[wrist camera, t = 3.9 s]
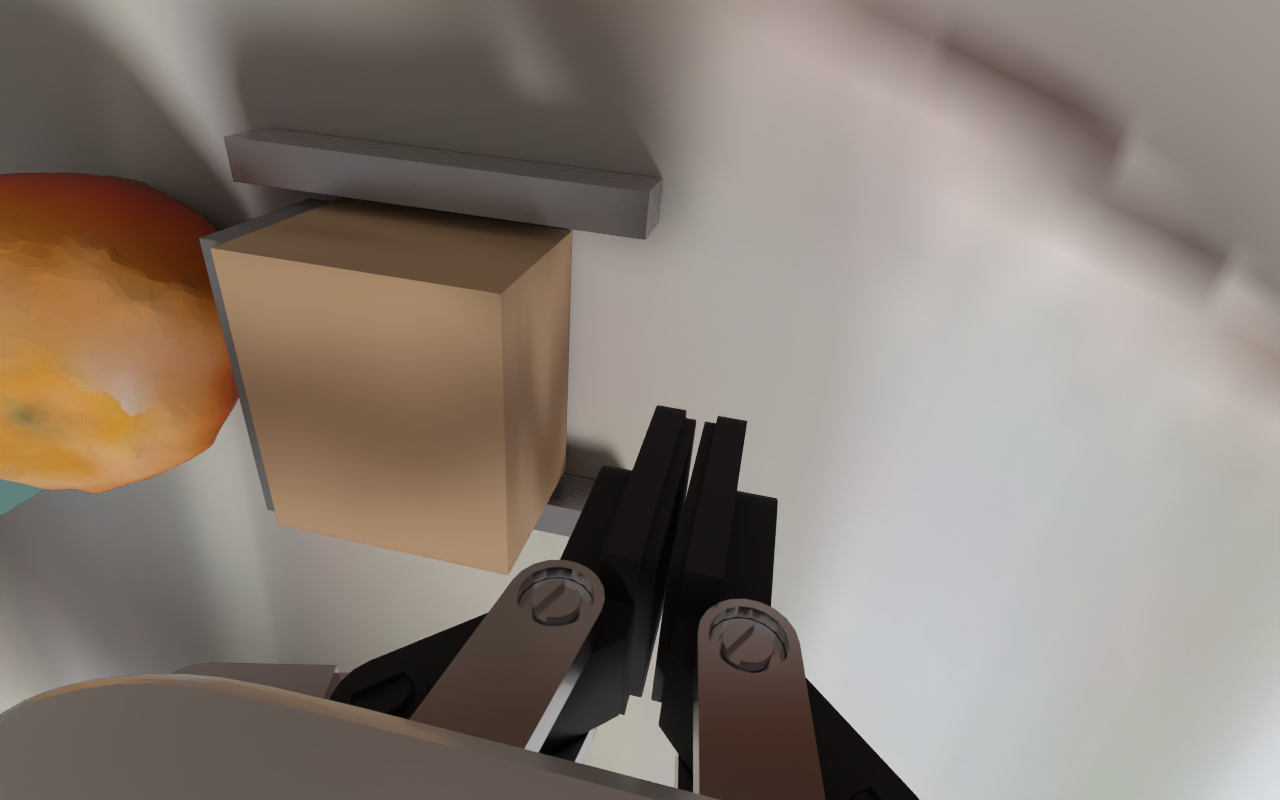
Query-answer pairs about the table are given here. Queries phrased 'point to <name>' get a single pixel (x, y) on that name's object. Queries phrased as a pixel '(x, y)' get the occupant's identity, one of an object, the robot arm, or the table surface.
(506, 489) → the block
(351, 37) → the table surface
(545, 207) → the launcher track
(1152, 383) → the table surface
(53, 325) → the fruit
